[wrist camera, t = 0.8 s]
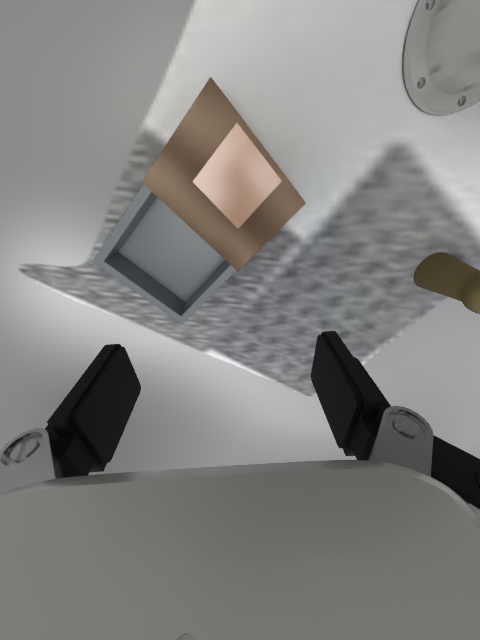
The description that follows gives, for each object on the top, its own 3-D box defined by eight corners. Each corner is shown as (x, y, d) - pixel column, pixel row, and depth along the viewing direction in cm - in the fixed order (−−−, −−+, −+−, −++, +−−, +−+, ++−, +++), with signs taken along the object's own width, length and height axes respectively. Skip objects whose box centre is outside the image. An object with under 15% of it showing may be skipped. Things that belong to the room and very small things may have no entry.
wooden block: (214, 98, 24) (210, 76, 19) (292, 199, 30) (305, 203, 25) (157, 182, 28) (141, 182, 23) (236, 258, 34) (237, 271, 29)
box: (157, 182, 28) (144, 182, 24) (236, 258, 34) (237, 268, 30) (109, 251, 32) (92, 261, 28) (187, 308, 38) (182, 324, 34)
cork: (406, 283, 38) (465, 317, 28) (429, 248, 35) (504, 272, 25) (435, 290, 39) (502, 325, 29) (461, 256, 36) (544, 283, 26)
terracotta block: (235, 129, 21) (236, 122, 19) (276, 181, 24) (281, 181, 21) (196, 181, 23) (192, 181, 21) (237, 224, 26) (238, 229, 23)
